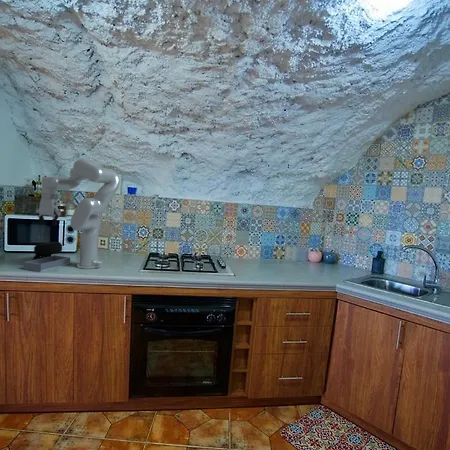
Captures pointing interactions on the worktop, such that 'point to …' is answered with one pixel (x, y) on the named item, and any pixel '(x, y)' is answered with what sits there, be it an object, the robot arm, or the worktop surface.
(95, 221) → the robot arm
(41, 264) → the holder tray
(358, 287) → the worktop surface
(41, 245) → the black irregular piece
